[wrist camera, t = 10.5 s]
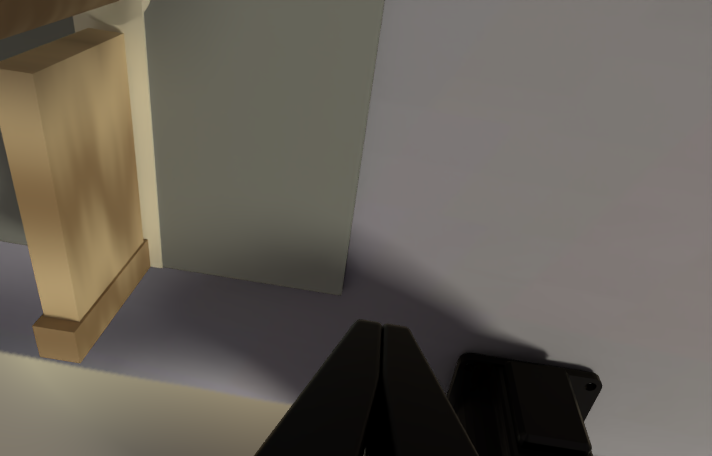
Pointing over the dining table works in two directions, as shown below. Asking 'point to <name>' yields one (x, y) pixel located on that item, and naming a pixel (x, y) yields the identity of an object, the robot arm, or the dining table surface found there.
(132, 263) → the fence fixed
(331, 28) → the card
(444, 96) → the dining table surface
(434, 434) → the robot arm
